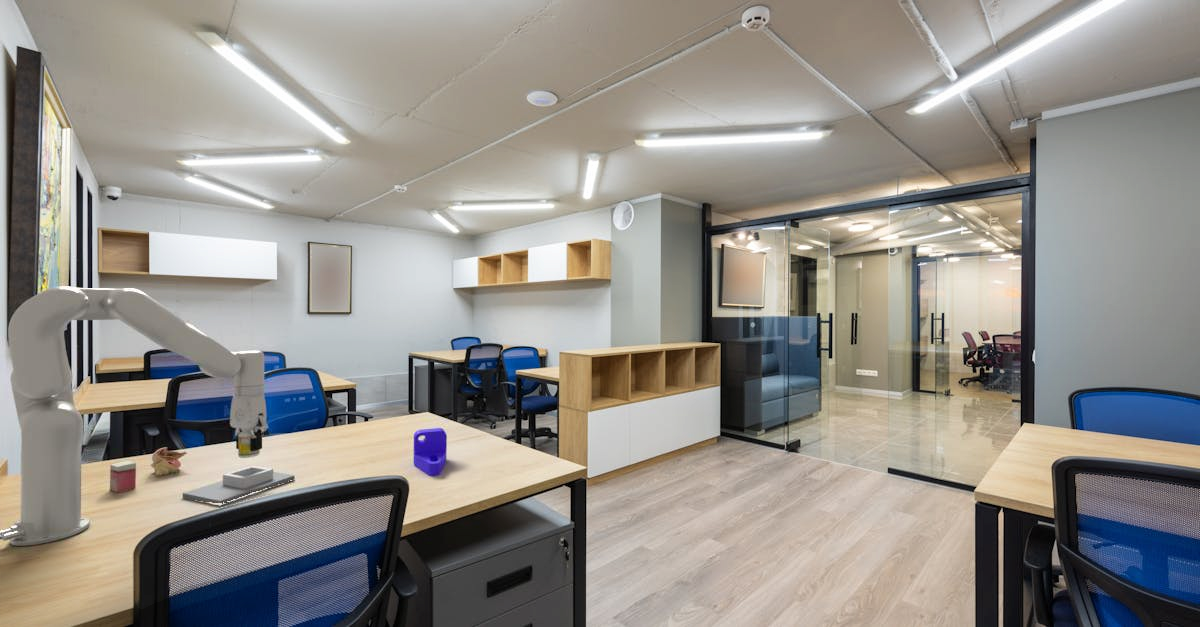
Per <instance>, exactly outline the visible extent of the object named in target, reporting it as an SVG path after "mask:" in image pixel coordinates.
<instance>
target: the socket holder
mask: <svg viewBox="0 0 1200 627" xmlns="http://www.w3.org/2000/svg"><path fill="white" fill-rule="evenodd" d="M294 479H295V474H288V473H283V472H277V471H274V468H269V467H265V466H262V467H261V466H257V465H252V466H248V467H244V468H240V469H237V470H233V471H230V472H227V473H224V474H222V480H221V481H216V482H215V483H214V482H213V483H211V484H210V483H209V484H207V485H203V486H200V487H198V488H194V489H191V490H188V491H185V492H182V499H185V500H190V501H193V500H197V501H196V502H198V501H203V502H212V503H222V504H223V502H224V503H228V504H230V503H229V502H227V501H231V500H233V499H237V498H239V497H242V496H245V495H248V494H250V493H252V492H256V491H260V490H263V489H265V488H269V487H273V486H276V485H278V484H282V483H285V484H287V483H286V482H288V481H290V480H293V481H295V480H294ZM290 482H291V481H290ZM288 483H289V482H288ZM282 485H283V484H282ZM276 487H277V486H276ZM273 488H274V487H273Z"/></svg>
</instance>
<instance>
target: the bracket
mask: <svg viewBox="0 0 1200 627" xmlns="http://www.w3.org/2000/svg"><path fill="white" fill-rule="evenodd" d="M421 436H424V438H423V439H419V438H420V437H421ZM447 437H448V436H447V432H446V431H445V429H443V428H442V427H435V428H425V429H423V428H422V429H418V430H416V431H415V432H414V434H413V461H412V462H413V465H414V468H416V469H418V470H419V471H421V472H423V473H424V474H426V475H427V476H429V477H437V476H439V475H440V474H441V473H442V471H443V470H444V467H445V466H446V464H447V446H448V445H447V440H448V438H447Z"/></svg>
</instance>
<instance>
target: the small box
mask: <svg viewBox="0 0 1200 627" xmlns="http://www.w3.org/2000/svg"><path fill="white" fill-rule="evenodd" d="M109 470H110V471H109V472H110V473H109V478H110V479H109V490H110V491H111V490H112V492H114V491H115V493H116V492H119V493H122V492H121V491H123V492H126V491H125V490H128V491H130V489H131V490H134V488H135V489H136V487H137V486H136V482H137V481H136V480H137V477H136V476H137V463H136V462H134V461H131V460H125V461H121V462H117V463H112V464H110V468H109Z"/></svg>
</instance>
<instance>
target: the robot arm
mask: <svg viewBox="0 0 1200 627" xmlns="http://www.w3.org/2000/svg"><path fill="white" fill-rule="evenodd" d="M107 320H108V321H109V320H110V321H111V320H119V321H121V322H122V323H123V324H125V325H127V326H129V327H130V328H131V329H133V330H134V331H136V332H138V333H139V334H141V335H143V336H144V337H145V338H147V339H149V340H150V341H152V342H153V343H155V344H156V345H158V346H160V347H162V349H165V350H168V351H170V352H172V353H175V354H178V355H180V356H182V357H183V358H185V359H187V360H189V361H191V362H192V363H193V364H196V365H197V366H199V370H200V371H201V372H202V373H203V374H205V375H207V376H209V377H213V378H216V379H220V380H227V379H231V378H233V395H232V398H231V403H230V414H229V424H230V427H231V428H233V431H234V432H235V433H234V436H236V437H235V440H236V442H235V443H236V444H235V446H236V447H235V448H236V450H238V436H239V433H240V432H242V430H241V429H248V430H249V429H250V430H251V435H252V438H250V451H256V450H259V449H260V450H262V449H263V437H264V435H265V432H266V431H267V430H268V428H269V425H268V422H267V405H266V398H265V354H264V352H263V351H261V350H241V351H235V352H234V351H231V350H229V349H228V348H226V347H224V346H223V345H222V344H220V343H219V342H218V341H217V340H215V339H213V338H212V337H210V336H208V335H206V334H205V333H204V332H202V331H200V330H199V329H197V328H196V327H195V326H193V325H192V324H190V323H189V322H187V321H185V319H182V318H181V317H180V316H179V315H177V314H175V313H174V312H173V311H171V310H170V309H168V308H167V307H166V306H164V305H163V304H162V303H160V302H158V301H157V300H155V299H154V298H152V297H151V296H150V295H148V294H147V293H145V292H143V291H142V290H140V289H137V288H133V287H132V288H130V287H128V288H127V287H126V288H85V287H73V286H66V285H58V286H52V287H50V288H47V289H45V290H43V291H41V292H39V293H38V294H36V295H34V296H31V297H30V298H29V299H26V300H25V301H24V302H23V303H22V304H21V305H20V306H19V307H18V308H16V310H15V311H14V313H13V314H12V316H11V318H10V321H9V324H8V330H7V331H8V332H7V335H8V336H7V337H8V345H9V353H10V359H11V364H12V371H11V374H10V383H11V384H10V386H11V390H12V395H13V401H14V404H15V409H16V413H17V419H18V424H19V427H20V430H21V435H20V437H21V447H20V449H21V450H20V451H21V452H20V520H16V521H14V522H13V523H14V524H13V525H12V526H11V525H10V526H9V527H8V528H7V529H4V530H0V540H2V541H3V542H6V541H8V540H9V544H10V545H12V546H15V547H17V546H18V547H23V546H24V547H27V546H36V545H42V544H47V543H51V542H56V541H60V540H62V539H66V538H70V537H72V536H74V535H77V534H79V533H81V532H84V531H85V530H86V529H88V528H89V527H90V524H91V521H90V519H88V518H84V517H82V516H81V515H82V448H83V447H82V444H83V435H84V434H83V433H84V419H83V415H82V414H81V412H80V411H79V409H78V408H76V405H75V400H74V395H73V390H72V385H71V384H72V381H73V373H72V370H71V366H70V364H69V360H68V354H67V350H66V341H65V329H66V327H67V325H68V324H69V323H70V322H71V321H107ZM256 425H257V427H256ZM255 429H256V430H257V432H255Z"/></svg>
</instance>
